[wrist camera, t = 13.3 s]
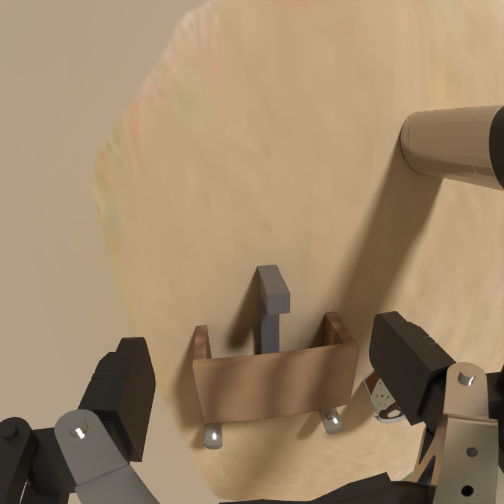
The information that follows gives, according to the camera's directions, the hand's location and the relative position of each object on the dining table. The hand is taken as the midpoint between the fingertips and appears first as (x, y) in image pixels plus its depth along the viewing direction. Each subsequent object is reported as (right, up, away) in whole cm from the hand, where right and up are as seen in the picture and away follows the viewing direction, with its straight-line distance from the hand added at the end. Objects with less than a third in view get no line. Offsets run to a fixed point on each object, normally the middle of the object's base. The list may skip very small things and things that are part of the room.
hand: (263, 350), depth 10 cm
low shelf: (+2, -11, +35) cm, 37 cm away
